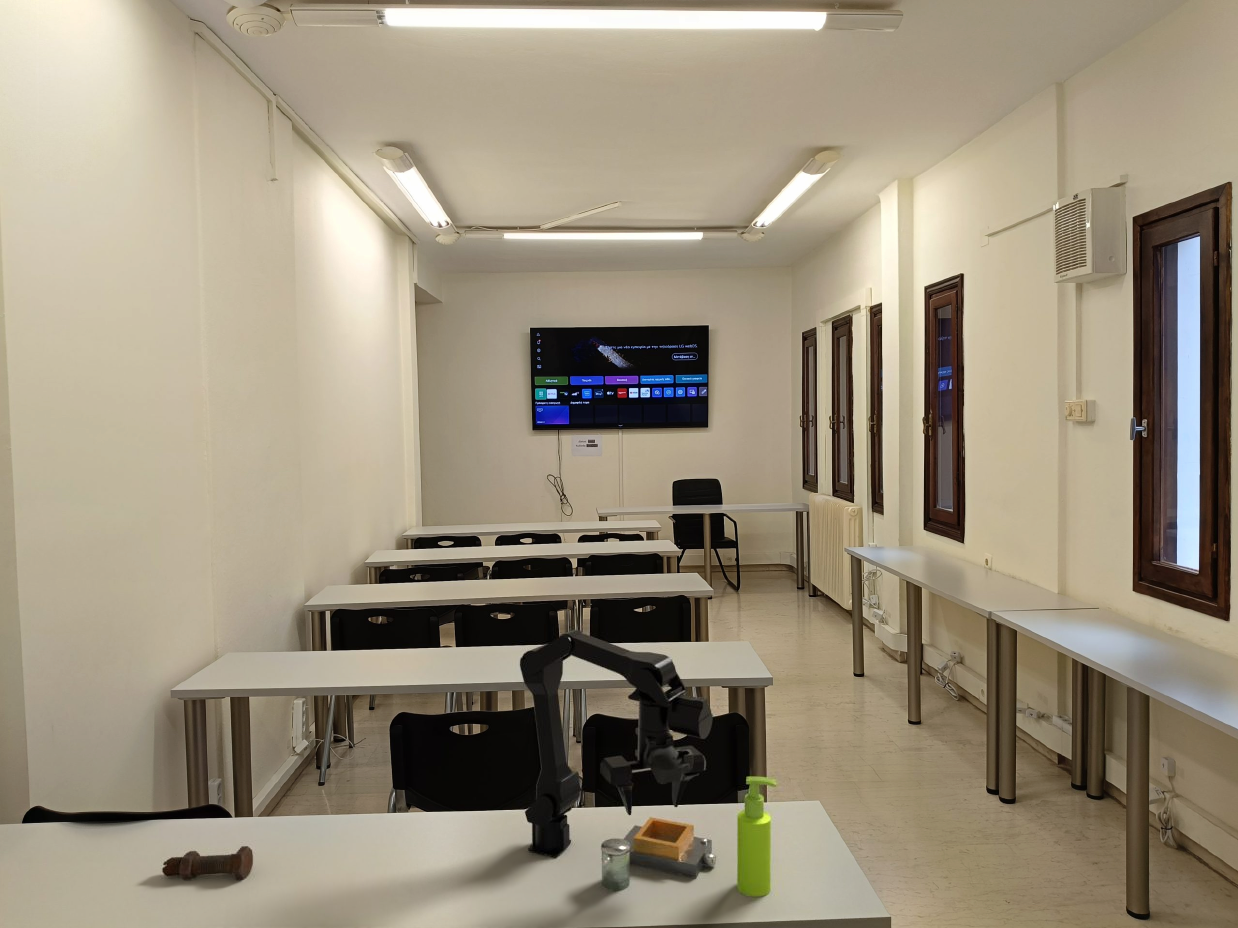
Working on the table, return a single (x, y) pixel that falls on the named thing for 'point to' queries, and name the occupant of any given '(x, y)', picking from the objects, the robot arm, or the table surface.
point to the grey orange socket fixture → (669, 848)
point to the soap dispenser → (754, 842)
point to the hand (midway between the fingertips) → (652, 810)
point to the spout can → (615, 864)
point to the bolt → (210, 864)
